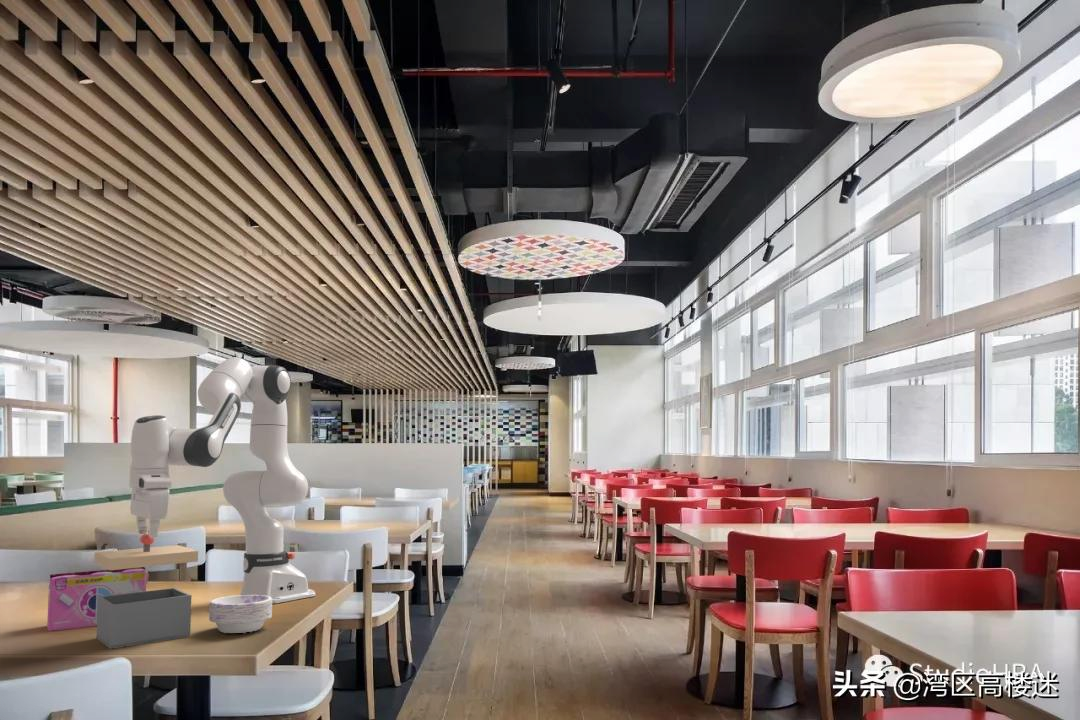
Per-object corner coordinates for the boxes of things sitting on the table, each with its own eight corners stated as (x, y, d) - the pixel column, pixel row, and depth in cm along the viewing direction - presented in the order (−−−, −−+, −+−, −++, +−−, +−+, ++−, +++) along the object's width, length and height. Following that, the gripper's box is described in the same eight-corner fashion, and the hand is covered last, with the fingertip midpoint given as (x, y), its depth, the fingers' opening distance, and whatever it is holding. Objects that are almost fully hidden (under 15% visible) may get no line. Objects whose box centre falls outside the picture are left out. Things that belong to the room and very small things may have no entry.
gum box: (145, 614, 228) (147, 565, 229) (149, 620, 221) (151, 569, 223) (46, 626, 215) (48, 573, 216) (47, 632, 208) (50, 578, 210)
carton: (173, 626, 212) (174, 587, 213) (190, 636, 202) (191, 595, 202) (96, 638, 201) (98, 596, 202) (110, 649, 190) (112, 605, 191)
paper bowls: (275, 622, 217) (276, 591, 217) (266, 635, 202) (267, 603, 202) (215, 625, 214) (216, 594, 215) (202, 639, 199) (203, 605, 200)
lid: (178, 554, 215) (179, 529, 216) (197, 561, 203) (198, 533, 204) (94, 562, 202) (95, 535, 203) (109, 570, 190) (111, 540, 191)
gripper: (124, 478, 211) (123, 533, 209) (146, 482, 195) (144, 540, 194) (150, 477, 215) (149, 530, 213) (174, 480, 199) (172, 538, 198)
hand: (147, 535), depth 204 cm, fingers open, 8 cm apart
